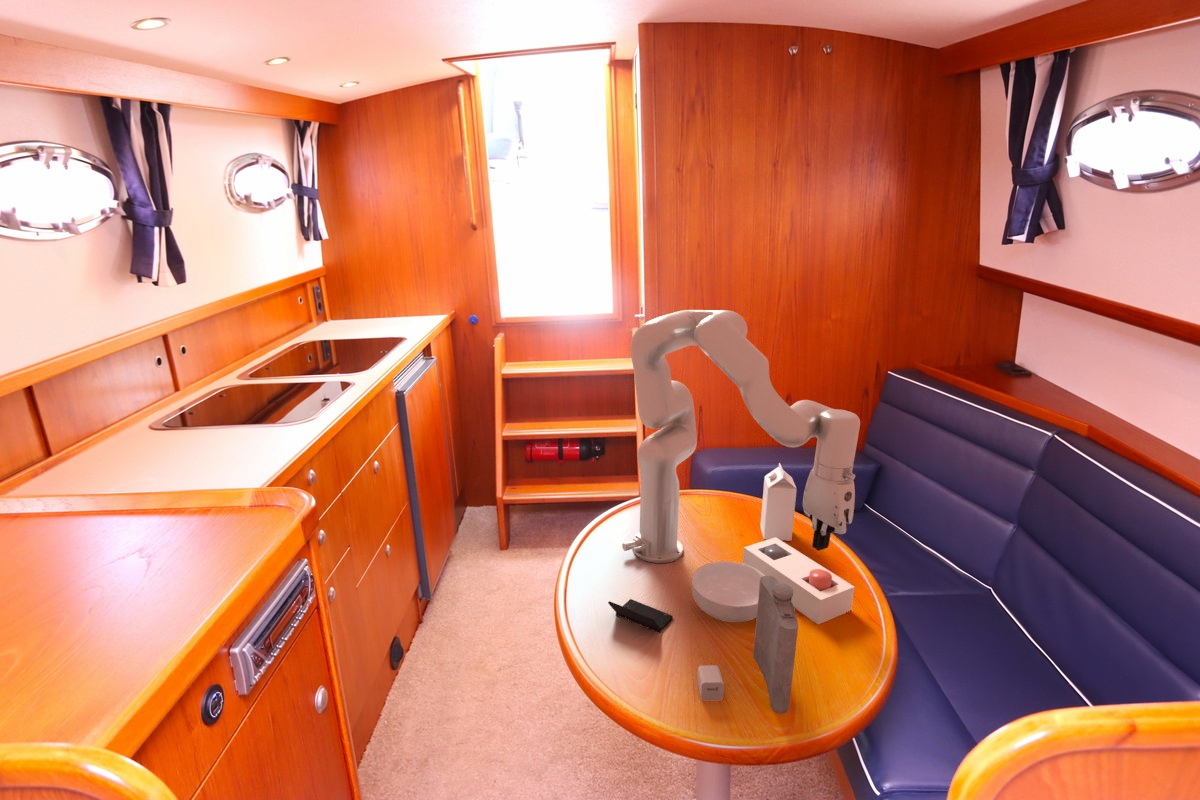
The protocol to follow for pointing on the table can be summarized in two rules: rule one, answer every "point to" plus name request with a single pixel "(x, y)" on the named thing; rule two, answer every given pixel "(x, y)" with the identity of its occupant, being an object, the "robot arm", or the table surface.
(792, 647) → the hip flask
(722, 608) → the cereal bowl
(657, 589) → the table surface
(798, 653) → the table surface
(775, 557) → the grey rounded cylinder
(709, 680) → the usb wall charger
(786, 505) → the milk carton
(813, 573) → the red plunger
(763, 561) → the box
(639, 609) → the handheld gaming console
